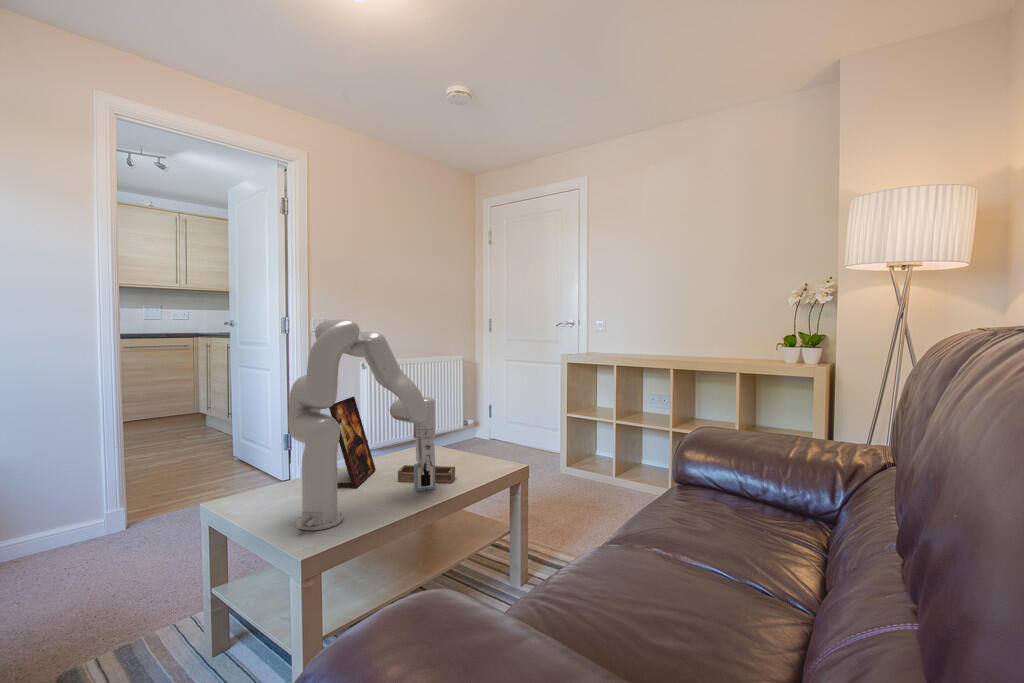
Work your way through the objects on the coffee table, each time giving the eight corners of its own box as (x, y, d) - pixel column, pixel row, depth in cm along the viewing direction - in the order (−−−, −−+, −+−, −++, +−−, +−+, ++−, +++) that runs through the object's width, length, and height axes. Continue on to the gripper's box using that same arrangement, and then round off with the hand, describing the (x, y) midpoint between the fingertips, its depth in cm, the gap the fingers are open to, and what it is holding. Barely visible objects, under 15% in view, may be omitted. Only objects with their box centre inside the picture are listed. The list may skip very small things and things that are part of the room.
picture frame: (357, 488, 163) (356, 404, 163) (327, 488, 163) (326, 404, 163) (375, 470, 184) (375, 396, 184) (349, 470, 184) (349, 396, 184)
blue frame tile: (435, 488, 163) (435, 463, 163) (415, 491, 160) (415, 465, 160) (433, 486, 165) (433, 461, 165) (414, 489, 163) (413, 463, 162)
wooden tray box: (450, 483, 169) (450, 472, 168) (397, 481, 170) (397, 470, 170) (455, 477, 175) (455, 466, 175) (404, 476, 177) (404, 465, 177)
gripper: (440, 436, 157) (441, 490, 157) (429, 427, 171) (429, 476, 172) (418, 438, 154) (419, 493, 154) (409, 429, 168) (409, 479, 169)
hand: (424, 484), depth 163 cm, fingers closed on blue frame tile, 2 cm apart
